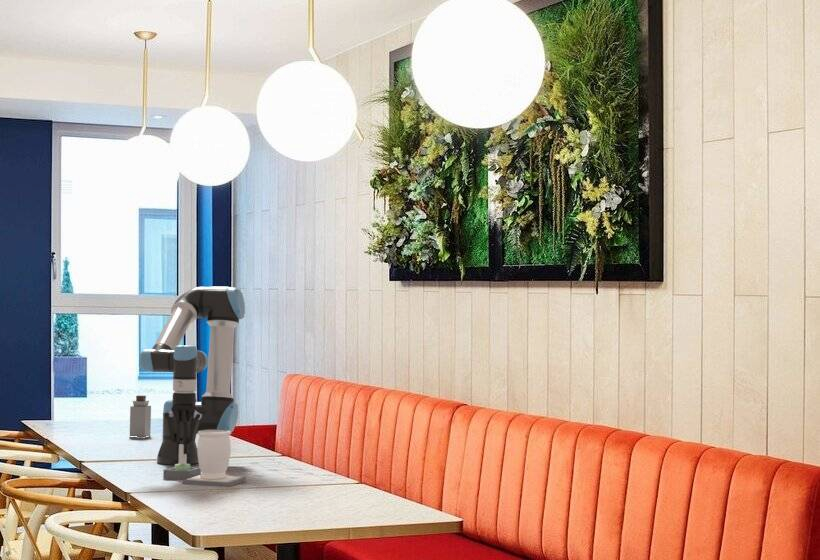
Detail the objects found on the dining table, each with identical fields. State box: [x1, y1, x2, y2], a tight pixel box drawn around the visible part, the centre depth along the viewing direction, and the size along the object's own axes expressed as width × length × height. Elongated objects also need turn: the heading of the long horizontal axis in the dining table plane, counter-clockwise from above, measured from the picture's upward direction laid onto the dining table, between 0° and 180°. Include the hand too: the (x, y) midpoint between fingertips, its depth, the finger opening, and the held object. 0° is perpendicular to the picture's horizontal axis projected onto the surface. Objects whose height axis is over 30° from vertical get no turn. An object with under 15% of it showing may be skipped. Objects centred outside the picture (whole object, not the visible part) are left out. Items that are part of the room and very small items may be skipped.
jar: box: [197, 430, 232, 479], centre depth 359 cm, size 11×10×15 cm
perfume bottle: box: [129, 394, 152, 437], centre depth 484 cm, size 7×7×18 cm
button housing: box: [162, 466, 202, 481], centre depth 367 cm, size 9×9×3 cm
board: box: [181, 475, 247, 488], centre depth 359 cm, size 16×13×2 cm
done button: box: [174, 464, 191, 471], centre depth 367 cm, size 5×5×3 cm
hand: (182, 463), depth 367 cm, fingers closed
